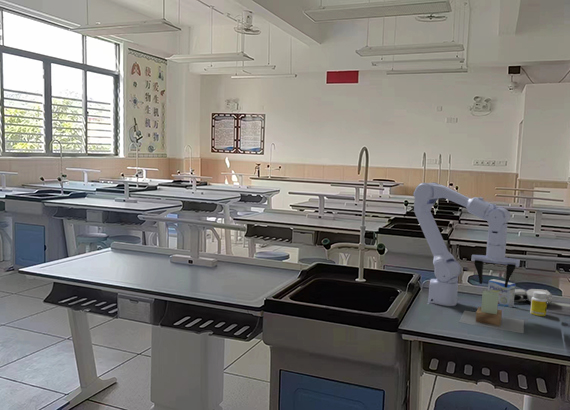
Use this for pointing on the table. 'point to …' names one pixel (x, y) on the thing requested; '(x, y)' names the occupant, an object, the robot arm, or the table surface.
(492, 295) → the sage brick
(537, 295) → the supplement bottle
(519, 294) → the robot toy
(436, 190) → the robot arm
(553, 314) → the table surface
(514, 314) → the table surface
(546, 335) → the table surface
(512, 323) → the board
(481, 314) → the walnut brick
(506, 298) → the medicine box
